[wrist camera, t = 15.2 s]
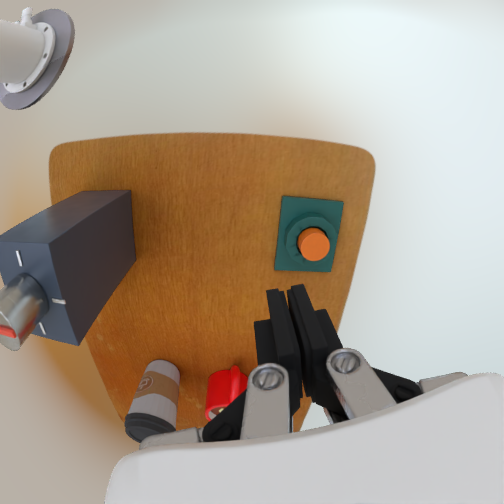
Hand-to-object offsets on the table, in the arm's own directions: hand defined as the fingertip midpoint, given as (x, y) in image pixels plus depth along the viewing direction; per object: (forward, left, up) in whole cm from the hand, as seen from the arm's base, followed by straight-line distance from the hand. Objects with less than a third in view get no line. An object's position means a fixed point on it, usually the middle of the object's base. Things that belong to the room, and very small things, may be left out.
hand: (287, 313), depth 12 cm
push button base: (+6, +6, -23) cm, 25 cm away
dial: (0, -21, -5) cm, 22 cm away
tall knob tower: (0, -21, -23) cm, 31 cm away
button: (+6, +6, -21) cm, 23 cm away
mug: (+31, -10, -24) cm, 40 cm away
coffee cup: (+28, -22, -24) cm, 43 cm away
